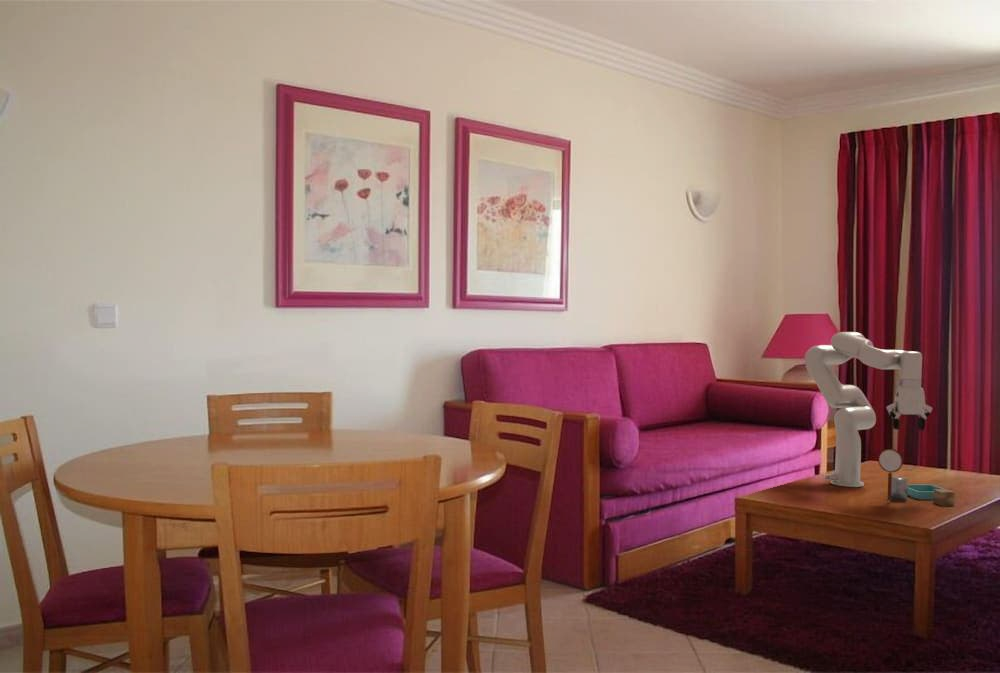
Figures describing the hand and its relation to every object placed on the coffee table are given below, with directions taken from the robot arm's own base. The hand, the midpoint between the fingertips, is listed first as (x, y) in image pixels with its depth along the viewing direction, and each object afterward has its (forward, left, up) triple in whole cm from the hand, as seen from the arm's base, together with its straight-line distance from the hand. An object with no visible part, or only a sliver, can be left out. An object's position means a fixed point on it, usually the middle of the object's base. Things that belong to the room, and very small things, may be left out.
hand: (908, 429), depth 336 cm
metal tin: (-4, -2, -26) cm, 27 cm away
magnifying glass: (-11, -8, -26) cm, 30 cm away
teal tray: (+10, +4, -26) cm, 28 cm away
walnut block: (+9, -10, -26) cm, 30 cm away
